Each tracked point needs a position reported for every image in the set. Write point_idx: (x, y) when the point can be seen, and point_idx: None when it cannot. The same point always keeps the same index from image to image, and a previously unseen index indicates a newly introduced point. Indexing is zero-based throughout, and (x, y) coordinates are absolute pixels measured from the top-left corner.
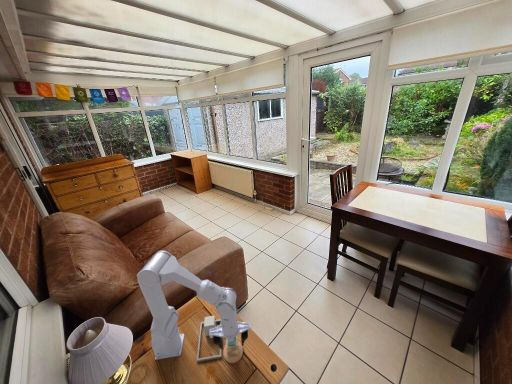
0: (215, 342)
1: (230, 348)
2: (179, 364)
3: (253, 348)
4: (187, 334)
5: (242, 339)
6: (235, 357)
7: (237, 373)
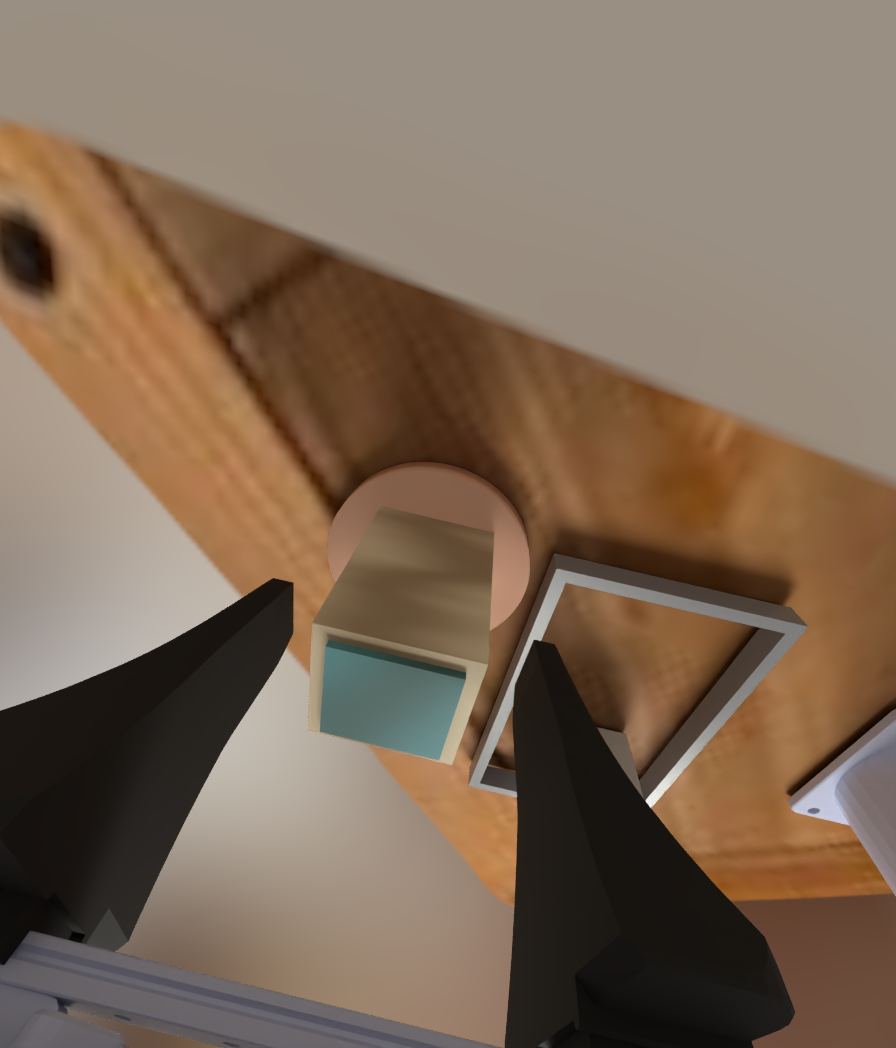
0: (748, 995)
1: (431, 623)
2: None
3: (239, 506)
4: (759, 789)
5: (85, 740)
6: (416, 501)
7: (432, 356)
